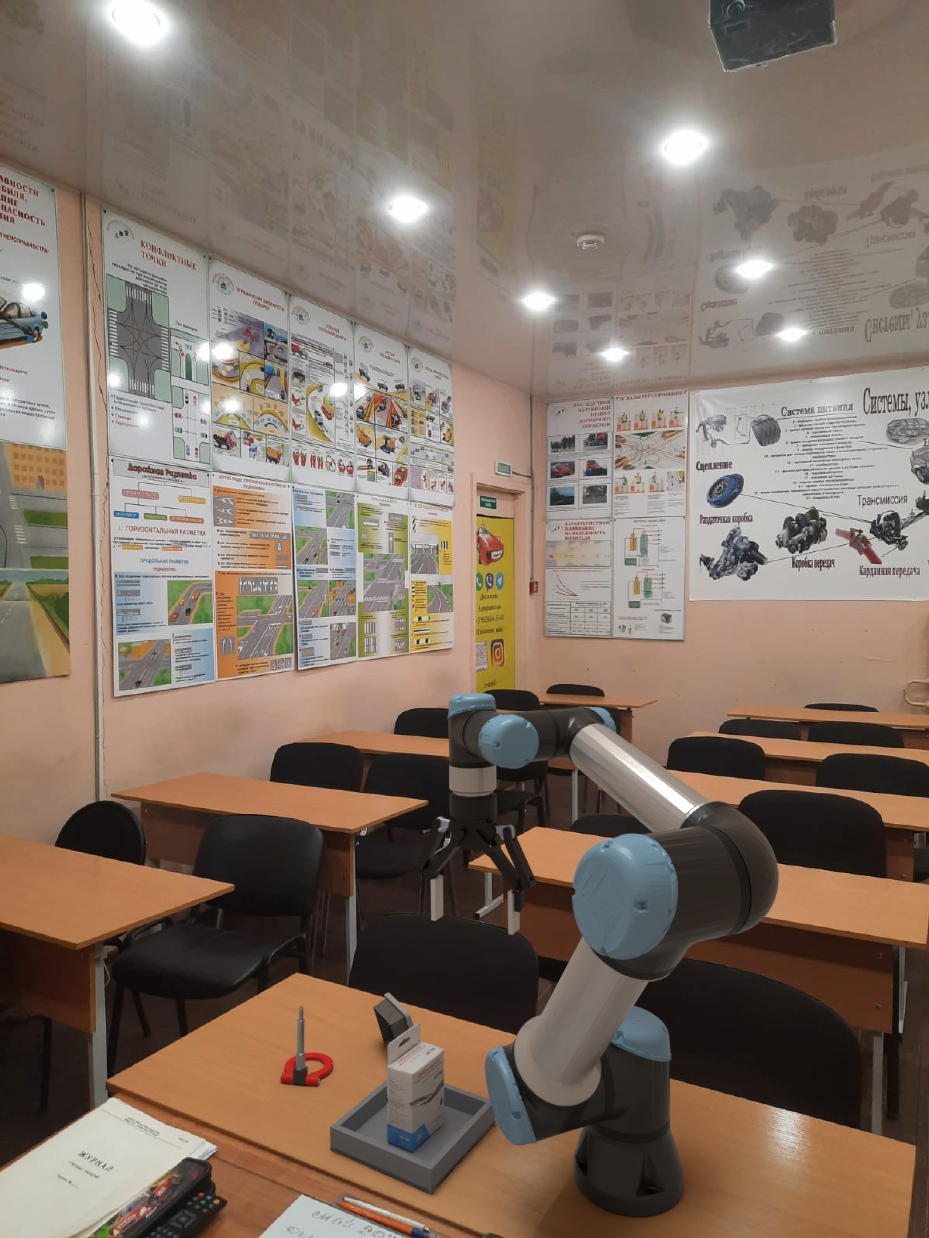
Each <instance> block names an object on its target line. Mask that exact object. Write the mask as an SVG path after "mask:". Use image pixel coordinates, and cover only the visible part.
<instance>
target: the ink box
mask: <svg viewBox="0 0 929 1238" xmlns="http://www.w3.org/2000/svg"><path fill="white" fill-rule="evenodd" d="M413 1025H414V1026H413V1027H411V1028H410V1029H408V1030H407V1031H405V1032H404V1033H403V1034H401V1035H400V1036H398V1037H397V1038H396V1039H394V1040H393V1041H392V1042H390V1043H389V1044H388V1047H387V1052H386V1053H387V1055H386V1057H387V1060H386V1061H387V1064H386V1080H387V1141H388V1142H389V1143H391V1144H394V1145H396V1146H398V1147H401V1148H403V1149H406V1150H408V1151H410V1152H413V1151H415V1150H416V1149H417V1148H418V1147H419V1146H420V1145H421V1144H422V1143H423V1142H424V1141H425V1140H426V1139H427V1138H429V1137H430V1136H431V1135H432V1134H433V1133H434V1132H435V1131H436V1130H437V1129H438V1128H439V1127H440V1126H441V1125H443V1124H444V1083H445V1048H442V1047H439V1046H437V1045H434V1044H431V1043H428V1042H425V1041H423V1040H422V1041H421V1024H420V1022H417V1023H416V1024H413ZM408 1037H409V1041H408V1042H406V1043H405V1044H404V1045H402V1046H401V1047H399V1044H400V1043H401V1042H402V1041H403V1039H404V1038H406V1039H407V1038H408Z"/></svg>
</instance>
